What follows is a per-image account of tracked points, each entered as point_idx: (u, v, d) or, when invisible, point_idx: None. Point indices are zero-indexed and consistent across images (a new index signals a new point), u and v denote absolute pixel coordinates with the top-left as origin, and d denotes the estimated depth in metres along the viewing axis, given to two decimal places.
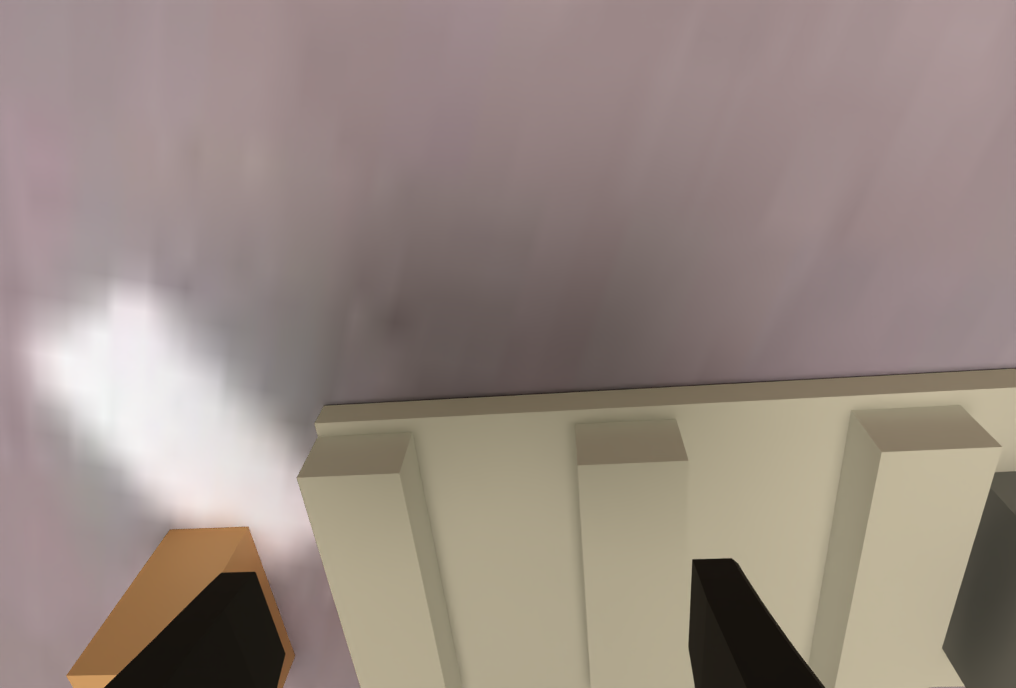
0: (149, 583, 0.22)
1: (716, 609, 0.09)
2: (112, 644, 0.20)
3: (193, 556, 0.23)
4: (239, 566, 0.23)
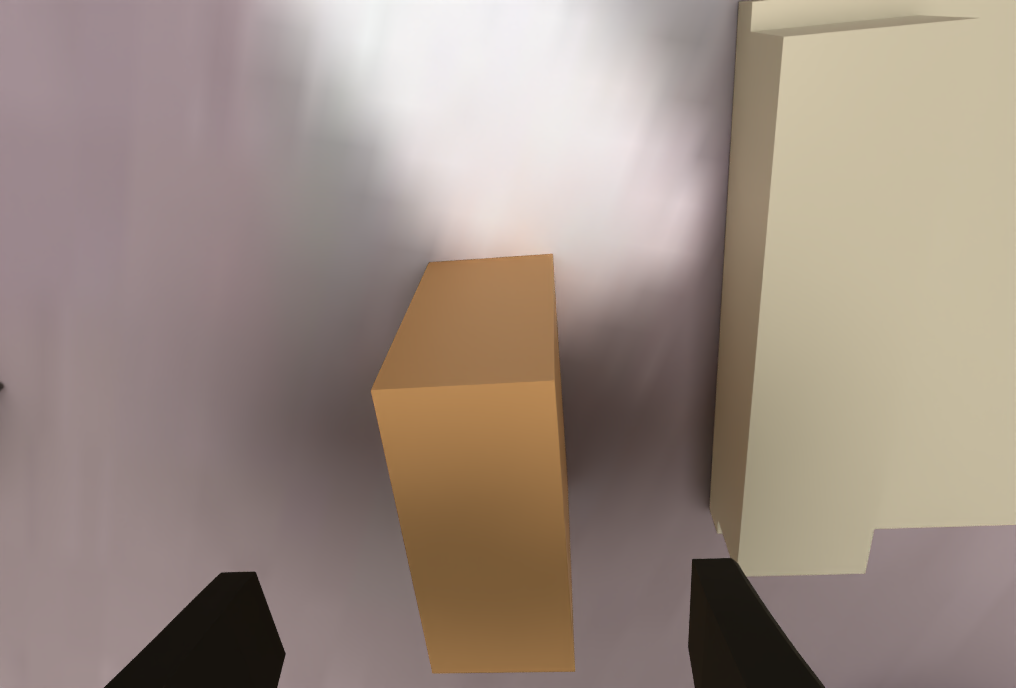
0: (440, 303, 0.14)
1: (716, 609, 0.09)
2: (428, 357, 0.12)
3: (490, 279, 0.15)
4: None
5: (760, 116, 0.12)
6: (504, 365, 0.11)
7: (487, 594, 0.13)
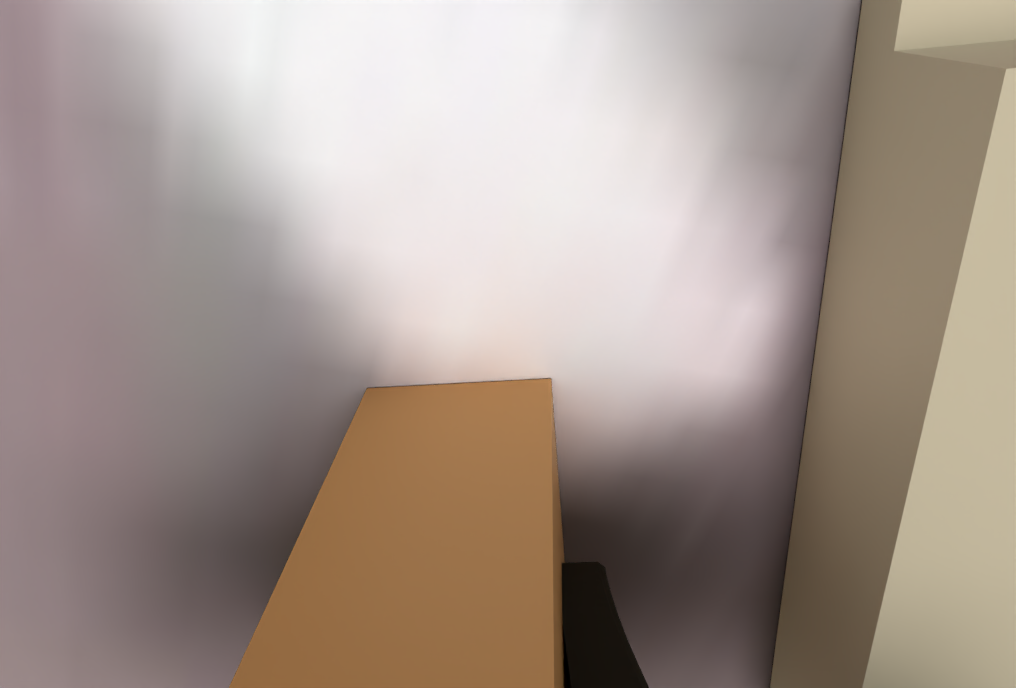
0: (367, 493, 0.08)
1: (567, 612, 0.09)
2: (321, 655, 0.06)
3: (454, 436, 0.09)
4: (555, 462, 0.10)
5: (917, 202, 0.07)
6: None
7: None
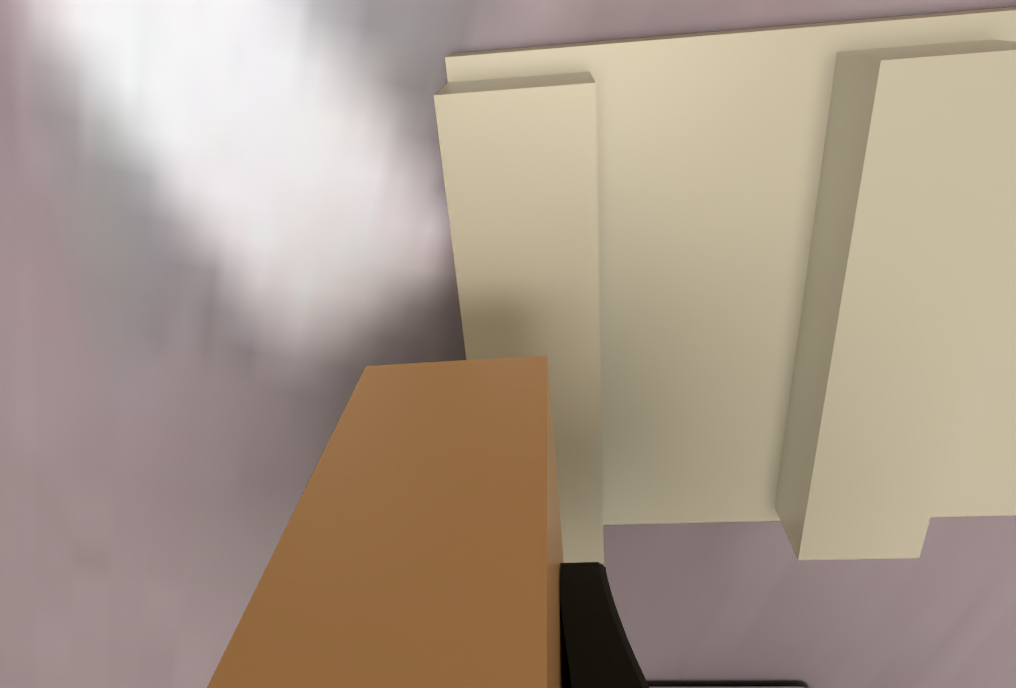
0: (365, 463, 0.09)
1: (567, 612, 0.09)
2: (320, 611, 0.07)
3: (451, 409, 0.10)
4: (550, 436, 0.10)
5: None
6: (454, 646, 0.06)
7: None
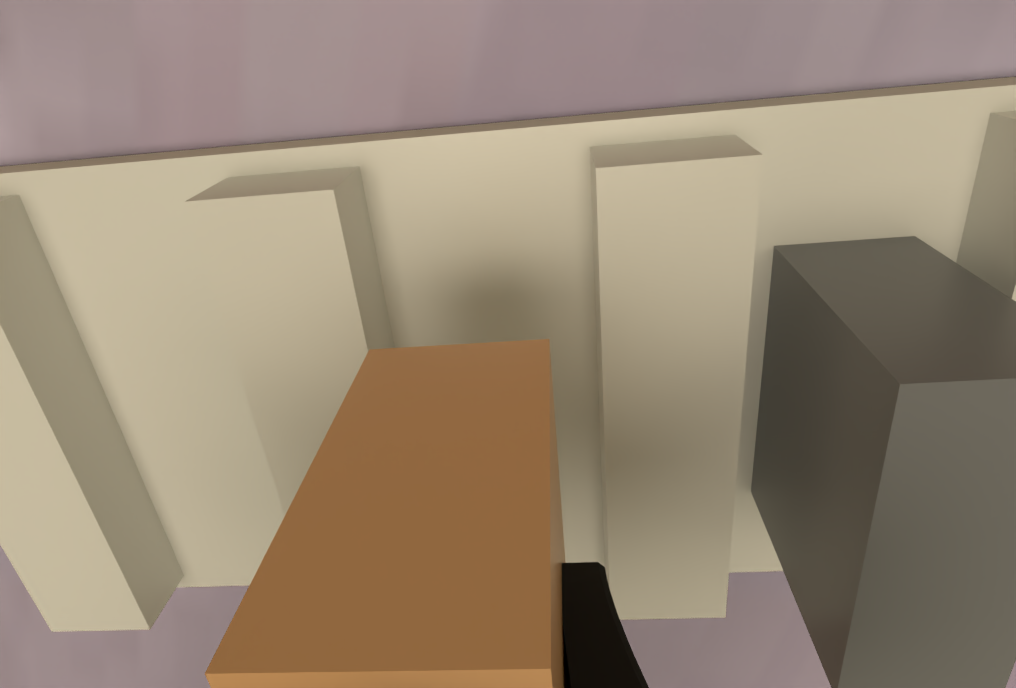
0: (370, 441, 0.09)
1: (567, 612, 0.09)
2: (327, 579, 0.07)
3: (454, 390, 0.10)
4: (552, 417, 0.10)
5: None
6: (458, 611, 0.06)
7: None
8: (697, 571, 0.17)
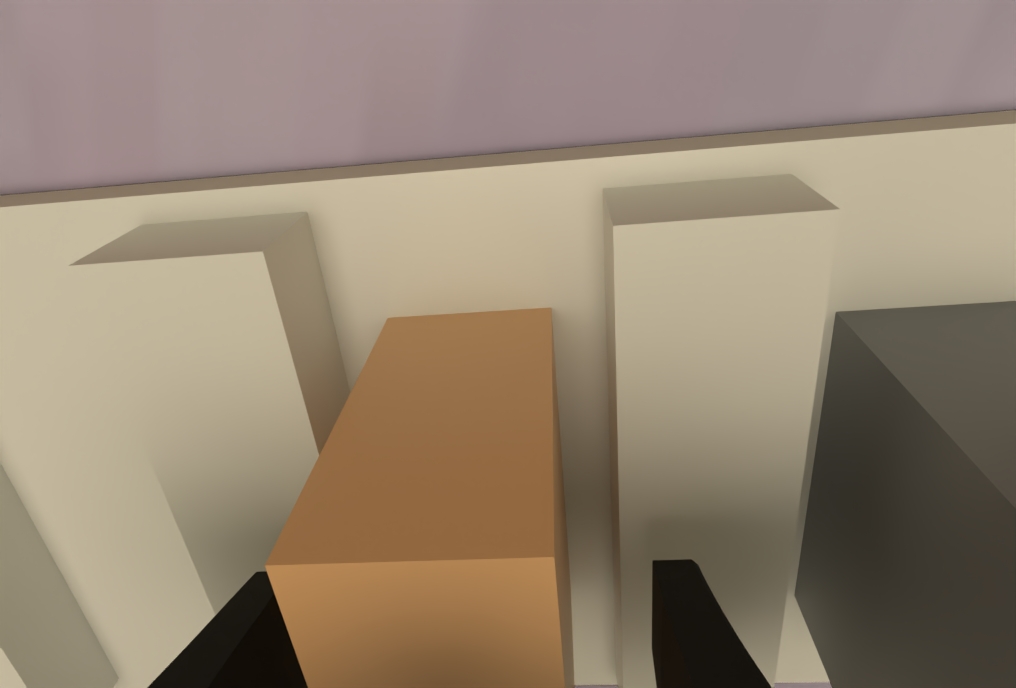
0: (392, 390, 0.10)
1: (671, 610, 0.09)
2: (362, 496, 0.08)
3: (467, 350, 0.11)
4: (554, 376, 0.11)
5: None
6: (476, 518, 0.07)
7: None
8: None
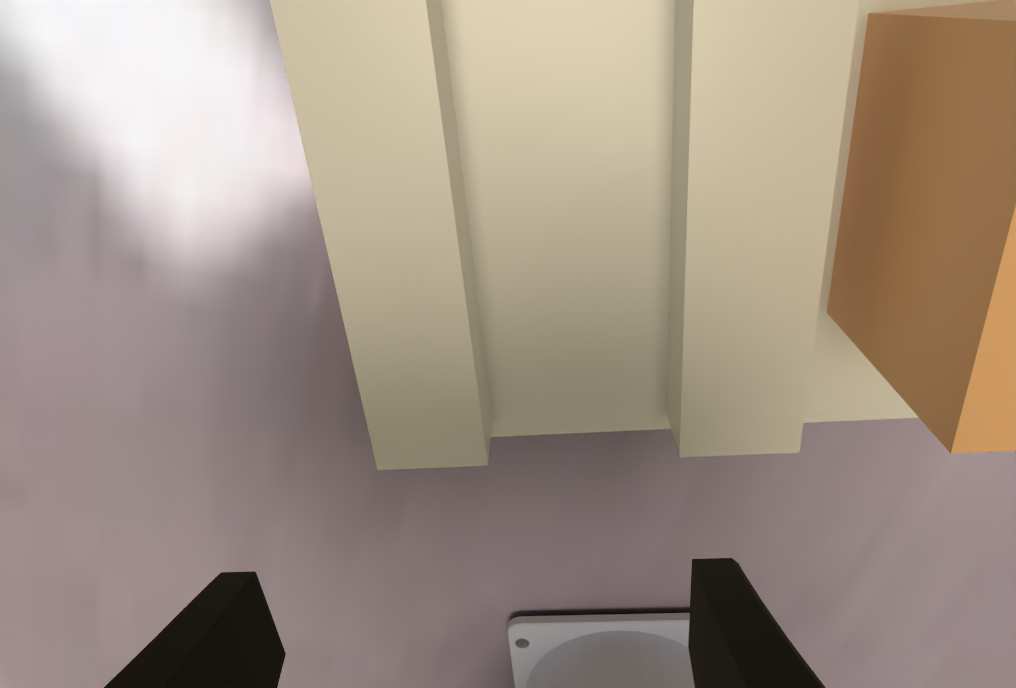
0: (970, 12, 0.12)
1: (716, 609, 0.09)
2: None
3: (991, 5, 0.13)
4: None
5: None
6: None
7: None
8: None
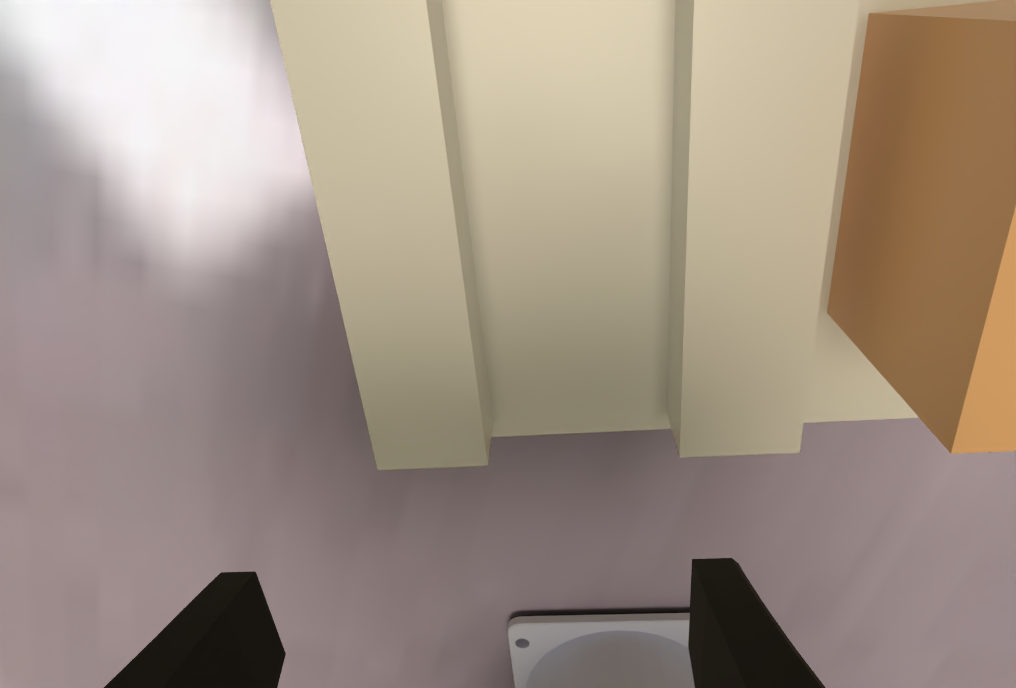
0: (970, 12, 0.12)
1: (716, 609, 0.09)
2: None
3: (991, 5, 0.13)
4: None
5: None
6: None
7: None
8: None
